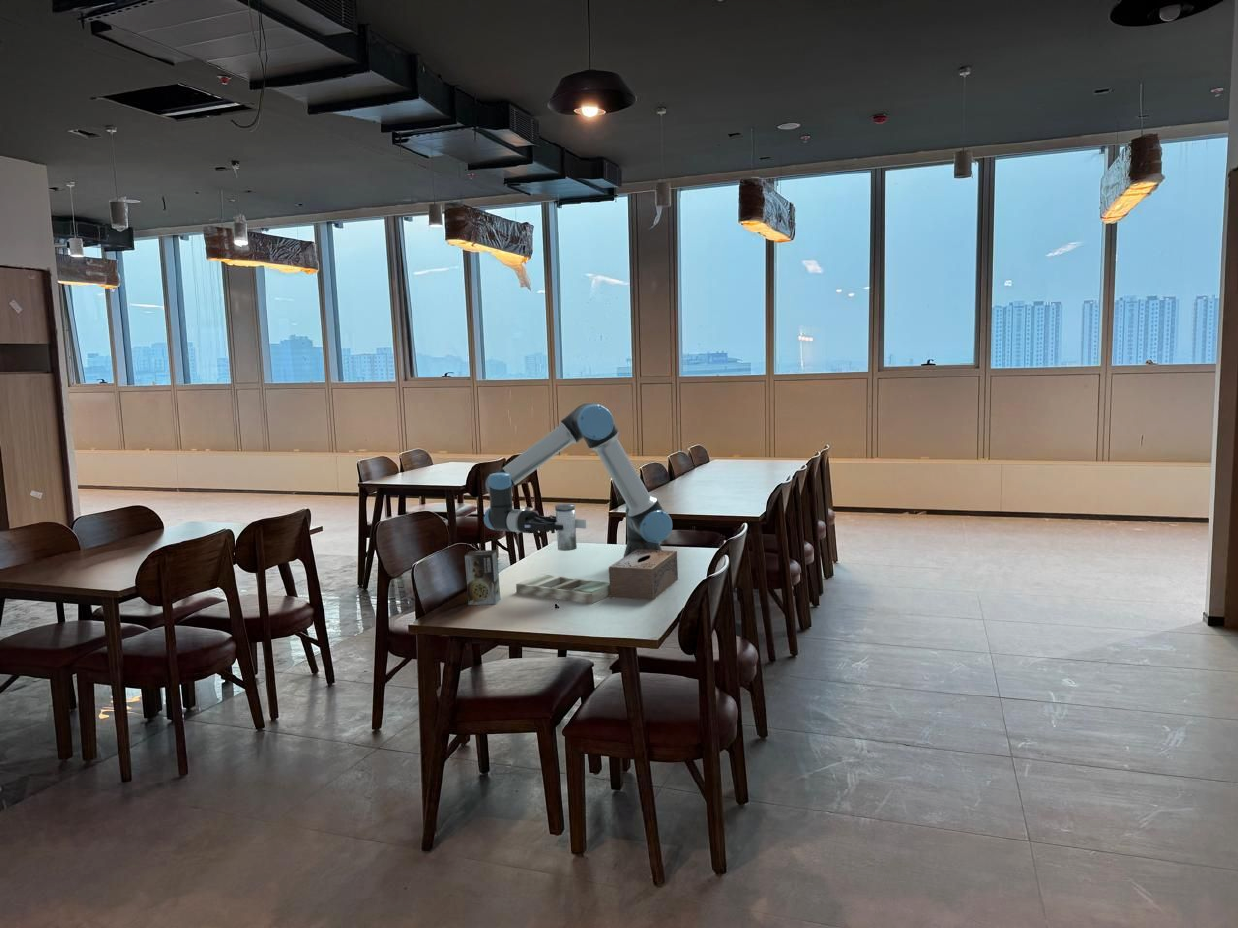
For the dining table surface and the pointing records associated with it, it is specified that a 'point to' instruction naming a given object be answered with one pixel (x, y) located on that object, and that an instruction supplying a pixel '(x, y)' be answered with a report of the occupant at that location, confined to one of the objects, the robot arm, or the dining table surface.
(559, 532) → the canister
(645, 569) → the tissue box cover
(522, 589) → the board
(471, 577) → the coffee box
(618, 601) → the dining table surface
